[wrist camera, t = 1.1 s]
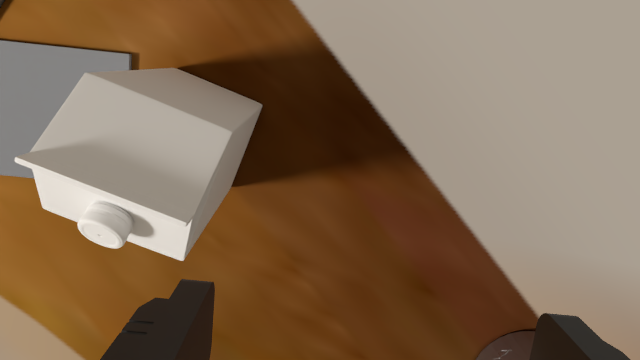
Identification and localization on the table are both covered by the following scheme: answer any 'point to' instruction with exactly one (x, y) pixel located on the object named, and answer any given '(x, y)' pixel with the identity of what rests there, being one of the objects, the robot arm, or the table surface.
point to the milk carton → (142, 156)
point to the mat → (40, 92)
